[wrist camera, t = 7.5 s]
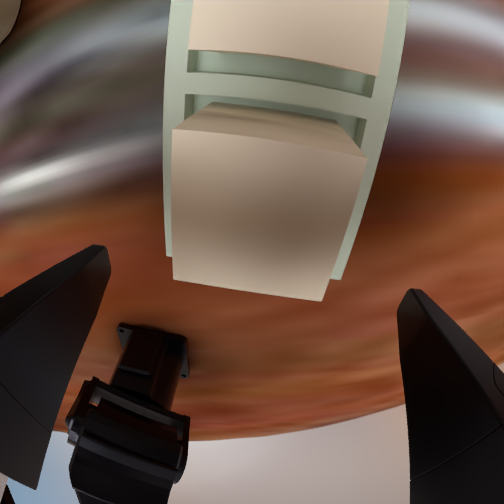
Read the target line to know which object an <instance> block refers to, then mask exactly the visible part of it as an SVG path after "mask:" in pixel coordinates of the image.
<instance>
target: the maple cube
mask: <svg viewBox="0 0 504 504" xmlns="http://www.w3.org/2000/svg"><path fill="white" fill-rule="evenodd" d="M367 160H368V159H367V157H366V156H365V155H364V154H363V152H362V151H361V150H360V149H359V147H358V146H357V145H356V144H355V142H354V141H353V140H352V139H351V138H350V136H349V135H348V134H347V133H346V132H345V130H344V129H343V128H342V127H341V126H340V125H339V123H338V122H337V121H335V120H331V119H326V118H321V117H316V116H311V115H306V114H301V113H295V112H289V111H283V110H277V109H270V108H263V107H256V106H248V105H240V104H230V103H220V102H211V103H210V104H208V105H207V106H205V107H204V108H202V109H200V110H199V111H198V112H196V113H195V114H193V115H192V116H190V117H189V118H187V119H186V120H184V121H183V122H182V123H180V124H179V125H177V126H176V127H174V128H173V129H172V152H171V231H172V261H173V279H174V280H180V281H186V282H192V283H198V284H204V285H210V286H216V287H223V288H229V289H236V290H242V291H249V292H255V293H262V294H269V295H276V296H283V297H291V298H298V299H306V300H313V301H321V302H322V299H323V296H324V294H325V291H326V288H327V285H328V283H329V280H330V277H331V274H332V272H333V269H334V266H335V263H336V260H337V257H338V254H339V251H340V248H341V246H342V243H343V240H344V236H345V233H346V230H347V227H348V224H349V221H350V218H351V215H352V211H353V208H354V205H355V202H356V198H357V195H358V192H359V188H360V185H361V181H362V178H363V174H364V171H365V167H366V164H367Z"/></svg>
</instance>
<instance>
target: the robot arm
mask: <svg viewBox="0 0 504 504" xmlns="http://www.w3.org/2000/svg"><path fill="white" fill-rule="evenodd" d="M110 275H111V265H110V260H109V255H108V250H107V248H106V247H105V246H102V245H96V244H94V245H91V246H89V247H87V248H86V249H84V250H82V251H80V252H78V253H76V254H74V255H72V256H71V257H69V258H67V259H65V260H63V261H61V262H60V263H58V264H56V265H54V266H52V267H51V268H49V269H47V270H45V271H44V272H42V273H40V274H38V275H37V276H35V277H33V278H32V279H30V280H28V281H26V282H25V283H23V284H21V285H20V286H18V287H16V288H15V289H13V290H11V291H10V292H8V293H7V294H5V295H4V296H2V297H0V504H15V502H14V500H13V498H12V495H11V493H10V490H9V488H8V485H7V484H6V483H7V480H8V477H9V478H11V479H13V480H15V481H17V482H19V483H21V484H23V485H25V486H28V487H30V488H32V489H34V490H36V489H37V486H38V482H39V477H40V473H41V469H42V466H43V461H44V458H45V454H46V451H47V447H48V444H49V441H50V437H51V433H52V430H53V427H54V424H55V421H56V418H57V415H58V412H59V409H60V406H61V403H62V400H63V397H64V394H65V392H66V389H67V386H68V383H69V381H70V378H71V375H72V373H73V370H74V368H75V365H76V363H77V360H78V358H79V355H80V353H81V350H82V348H83V346H84V343H85V341H86V339H87V336H88V334H89V332H90V329H91V327H92V325H93V322H94V320H95V318H96V315H97V312H98V310H99V307H100V304H101V301H102V298H103V295H104V292H105V289H106V286H107V283H108V281H109V278H110ZM397 324H398V338H399V354H400V364H401V371H402V378H403V386H404V394H405V403H406V412H407V413H406V414H407V425H408V439H409V457H410V480H411V481H410V504H504V373H503V372H502V371H501V370H500V369H499V368H498V366H497V365H496V364H495V363H493V361H492V360H491V359H490V358H489V357H488V356H487V355H486V353H485V352H484V351H483V350H482V349H481V348H480V347H479V346H478V345H477V344H476V343H475V342H474V341H473V340H472V339H471V338H470V337H469V336H468V335H467V334H466V333H465V332H464V331H463V330H462V329H461V328H460V327H459V326H458V325H457V324H456V323H455V322H454V321H453V320H452V319H451V318H450V317H449V316H448V315H447V314H446V313H445V312H444V311H443V310H442V309H441V308H440V307H439V306H438V305H437V304H436V303H435V302H434V301H433V300H432V299H431V298H430V297H429V296H428V295H427V294H425V293H424V292H423V291H422V290H420V289H413V288H411V289H409V290H408V291H407V292H406V294H405V296H404V298H403V299H402V301H401V303H400V305H399V307H398V310H397ZM117 332H118V336H119V339H120V342H121V345H122V348H123V351H122V353H121V356H120V358H119V360H118V363H117V365H116V368H115V370H114V372H113V375H112V377H111V380H110V382H109V385H108V384H106V383H104V382H102V381H100V380H99V379H98V378H96V377H94V376H93V378H92V381H91V380H90V381H86V380H85V381H84V383H83V385H82V388H81V390H80V392H79V394H78V396H77V398H76V400H75V402H74V404H73V405H72V407H71V409H70V411H69V413H68V415H67V417H66V419H65V423H66V425H67V427H68V435H69V437H68V441H67V442H68V443H69V444H71V445H73V446H75V448H74V451H73V455H72V458H71V461H70V464H69V473H70V479H71V484H72V487H73V489H75V491H76V494H77V497H78V500H79V503H80V504H167V502H168V498H169V494H170V491H171V488H172V485H173V484H176V483H177V482H178V481H179V480H180V479H181V477H182V475H183V472H184V470H185V466H186V462H187V456H188V442H189V428H190V417H189V416H186V415H180V414H178V413H175V412H172V411H170V410H171V406H172V403H173V399H174V395H175V391H176V387H177V384H178V380H179V377H181V378H188V377H189V374H190V373H189V362H188V351H187V340H186V339H185V338H184V337H182V336H177V335H172V334H167V333H162V332H157V331H152V330H147V329H142V328H138V327H133V326H129V325H124V324H119V325H118V326H117ZM92 403H96V404H98V406H94V405H92Z"/></svg>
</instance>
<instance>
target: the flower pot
mask: <svg viewBox="0 0 504 504" xmlns="http://www.w3.org/2000/svg"><path fill="white" fill-rule="evenodd" d="M20 3H21V0H0V43H1V42H2V41H3V40H4V39H5V38H6V37H7V36H8V34H9V33H10V31H11V30H12V28H13V25H14V23H15V21H16V18H17V15H18V12H19V8H20Z"/></svg>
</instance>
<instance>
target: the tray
mask: <svg viewBox="0 0 504 504" xmlns="http://www.w3.org/2000/svg"><path fill="white" fill-rule="evenodd" d="M408 8H409V0H171V8H170V17H169V27H168V38H167V50H166V65H165V82H164V106H163V197H164V222H165V241H166V256H170V257H172V231H171V152H172V129H173V128H174V127H176V126H177V125H179V124H180V123H182V122H183V121H184V120H186V119H187V118H189V117H190V116H192V115H193V114H195V113H196V112H198V111H199V110H200V109H202V108H204V107H205V106H207V105H208V104H210V103H211V102H220V103H230V104H240V105H248V106H256V107H263V108H270V109H277V110H283V111H289V112H295V113H301V114H306V115H311V116H316V117H321V118H326V119H331V120H335V121H337V122H338V123H339V125H340V126H341V127H342V128H343V129H344V130H345V132H346V133H347V134H348V135H349V136H350V138H351V139H352V140H353V141H354V142H355V144H356V145H357V146H358V147H359V149H360V150H361V151H362V152H363V154H364V155H365V156H366V157H367V159H368V160H367V164H366V167H365V171H364V174H363V178H362V181H361V185H360V188H359V192H358V195H357V198H356V202H355V205H354V208H353V211H352V215H351V218H350V221H349V224H348V227H347V230H346V233H345V236H344V240H343V243H342V246H341V248H340V251H339V254H338V257H337V260H336V263H335V266H334V269H333V272H332V274H331V277H330V279H337V280H341V277H342V274H343V272H344V269H345V266H346V263H347V260H348V258H349V255H350V252H351V249H352V246H353V243H354V240H355V237H356V234H357V231H358V228H359V225H360V222H361V219H362V215H363V212H364V209H365V206H366V202H367V199H368V196H369V192H370V189H371V186H372V182H373V179H374V175H375V171H376V168H377V164H378V160H379V157H380V153H381V149H382V145H383V141H384V137H385V133H386V129H387V125H388V120H389V116H390V112H391V107H392V103H393V98H394V93H395V88H396V83H397V78H398V73H399V68H400V62H401V56H402V50H403V44H404V38H405V31H406V24H407V16H408Z"/></svg>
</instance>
